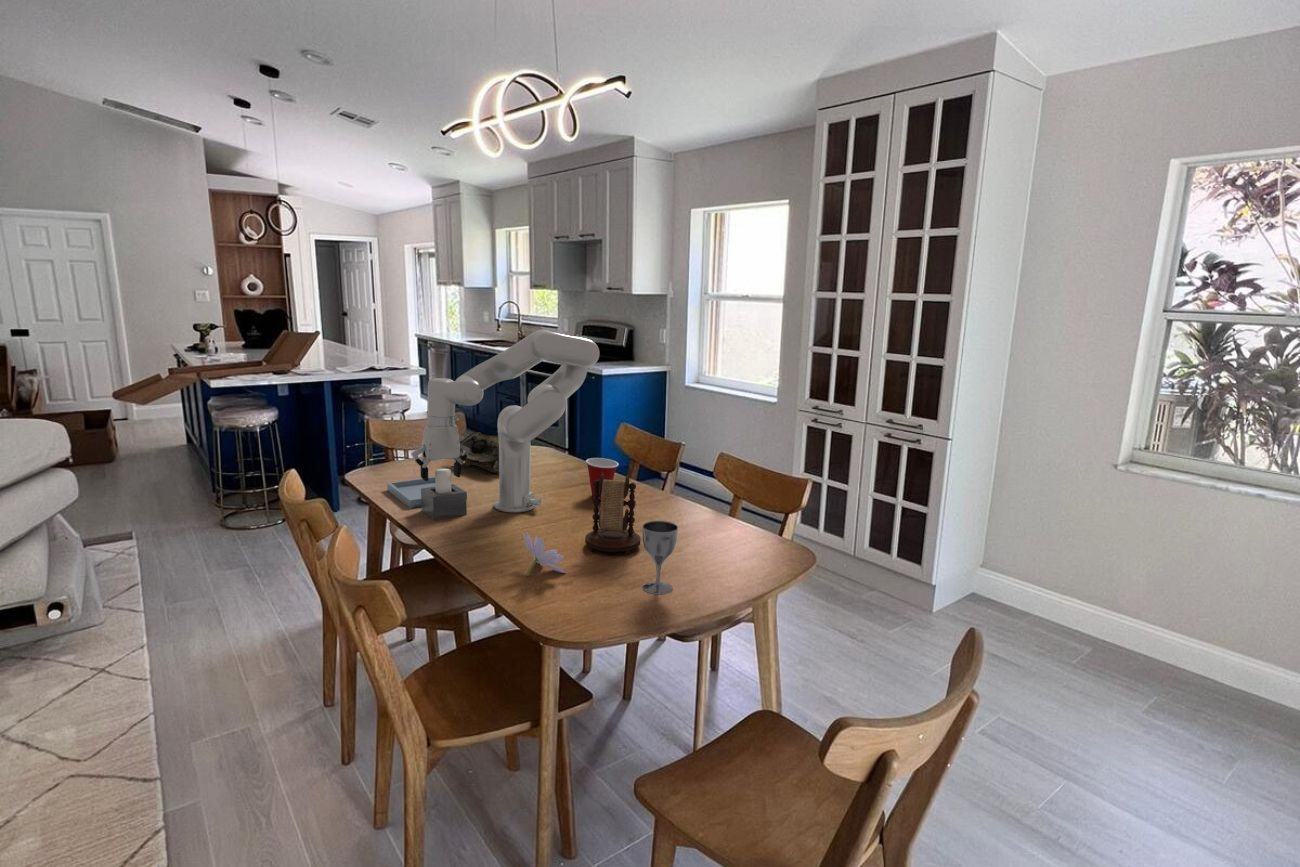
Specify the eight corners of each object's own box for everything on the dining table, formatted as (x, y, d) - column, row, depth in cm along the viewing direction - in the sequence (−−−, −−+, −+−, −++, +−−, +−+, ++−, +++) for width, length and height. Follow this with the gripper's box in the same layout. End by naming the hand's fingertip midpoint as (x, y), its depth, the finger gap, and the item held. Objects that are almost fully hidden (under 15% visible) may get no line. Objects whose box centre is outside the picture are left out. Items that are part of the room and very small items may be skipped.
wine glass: (673, 580, 164) (676, 521, 161) (675, 595, 156) (679, 532, 153) (640, 580, 164) (642, 520, 161) (640, 594, 156) (643, 531, 153)
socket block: (466, 514, 205) (466, 492, 204) (433, 520, 199) (433, 497, 198) (453, 505, 213) (453, 483, 211) (421, 510, 207) (420, 488, 205)
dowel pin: (454, 510, 205) (453, 471, 203) (439, 512, 202) (438, 473, 200) (448, 506, 209) (447, 468, 206) (433, 508, 206) (432, 469, 204)
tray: (466, 499, 219) (466, 491, 219) (410, 508, 209) (410, 500, 208) (441, 482, 236) (440, 475, 236) (387, 490, 226) (387, 482, 225)
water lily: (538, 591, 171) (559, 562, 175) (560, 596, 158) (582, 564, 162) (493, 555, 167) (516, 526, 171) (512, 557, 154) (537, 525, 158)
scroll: (579, 554, 178) (580, 479, 174) (591, 534, 192) (593, 465, 188) (635, 559, 176) (638, 484, 172) (644, 539, 191) (646, 469, 186)
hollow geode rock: (506, 489, 248) (532, 457, 252) (484, 470, 239) (510, 436, 244) (468, 470, 267) (492, 440, 272) (446, 451, 259) (471, 421, 264)
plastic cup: (616, 501, 223) (617, 465, 221) (583, 500, 223) (584, 464, 221) (618, 492, 234) (619, 457, 231) (587, 490, 234) (587, 456, 231)
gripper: (464, 417, 208) (464, 472, 212) (407, 420, 198) (407, 478, 201) (474, 421, 202) (474, 478, 206) (416, 425, 192) (416, 484, 195)
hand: (441, 478), depth 203 cm, fingers open, 9 cm apart
